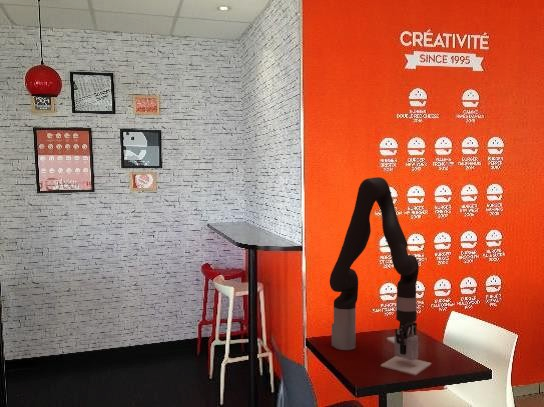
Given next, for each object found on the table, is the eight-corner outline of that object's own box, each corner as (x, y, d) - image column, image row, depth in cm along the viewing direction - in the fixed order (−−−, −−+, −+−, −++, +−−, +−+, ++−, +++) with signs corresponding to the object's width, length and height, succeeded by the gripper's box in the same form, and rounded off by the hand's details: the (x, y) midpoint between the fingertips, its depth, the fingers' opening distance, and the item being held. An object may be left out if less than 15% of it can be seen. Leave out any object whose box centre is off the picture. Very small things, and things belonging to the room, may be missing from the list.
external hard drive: (402, 350, 209) (386, 340, 221) (419, 347, 212) (402, 338, 224) (402, 346, 209) (386, 337, 221) (419, 344, 212) (402, 335, 223)
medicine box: (418, 358, 189) (418, 335, 188) (411, 361, 186) (412, 338, 185) (400, 353, 195) (400, 331, 194) (394, 355, 192) (394, 333, 191)
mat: (380, 366, 190) (380, 364, 190) (397, 356, 200) (397, 354, 200) (415, 375, 181) (415, 374, 181) (431, 364, 191) (431, 363, 191)
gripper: (407, 313, 181) (407, 359, 182) (423, 305, 192) (423, 349, 193) (388, 310, 186) (388, 355, 187) (405, 303, 197) (405, 345, 198)
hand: (406, 352), depth 190 cm, fingers closed on medicine box, 4 cm apart
